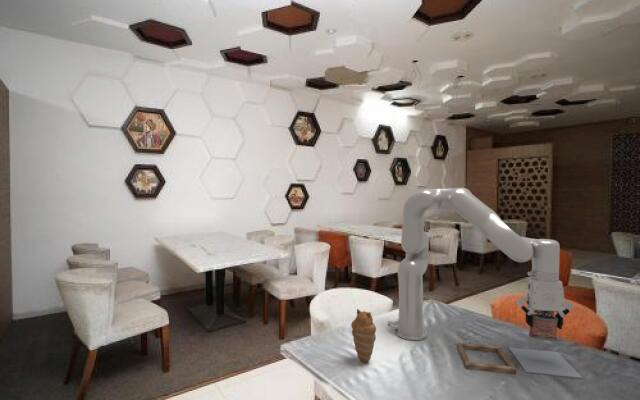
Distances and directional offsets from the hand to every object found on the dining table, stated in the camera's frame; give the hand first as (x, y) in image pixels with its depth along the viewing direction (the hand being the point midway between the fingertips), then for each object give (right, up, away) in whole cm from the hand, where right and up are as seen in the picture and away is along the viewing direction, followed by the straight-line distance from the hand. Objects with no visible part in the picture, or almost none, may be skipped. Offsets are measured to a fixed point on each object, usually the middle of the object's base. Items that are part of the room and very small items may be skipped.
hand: (543, 326), depth 111 cm
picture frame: (-19, -13, +3) cm, 23 cm away
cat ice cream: (-61, -13, +1) cm, 63 cm away
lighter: (0, -4, +1) cm, 4 cm away
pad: (0, -13, +1) cm, 13 cm away
